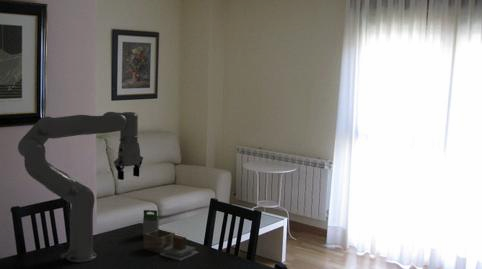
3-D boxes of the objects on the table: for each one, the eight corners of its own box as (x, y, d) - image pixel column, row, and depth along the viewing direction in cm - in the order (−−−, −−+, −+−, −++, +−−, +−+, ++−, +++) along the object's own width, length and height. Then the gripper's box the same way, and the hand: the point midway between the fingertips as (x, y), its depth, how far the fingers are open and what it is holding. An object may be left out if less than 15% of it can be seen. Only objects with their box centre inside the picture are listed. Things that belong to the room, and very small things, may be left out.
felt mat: (180, 260, 240) (180, 259, 240) (159, 254, 246) (159, 253, 246) (198, 252, 251) (198, 251, 251) (178, 247, 257) (178, 246, 257)
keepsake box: (160, 253, 248) (160, 238, 247) (143, 249, 254) (143, 234, 253) (174, 247, 256) (174, 233, 256) (158, 243, 262) (158, 229, 261)
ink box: (158, 234, 275) (159, 208, 274) (156, 237, 271) (157, 210, 270) (145, 234, 276) (145, 207, 274) (142, 236, 272) (143, 209, 270)
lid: (180, 258, 241) (181, 242, 241) (163, 253, 247) (163, 237, 246) (195, 252, 250) (195, 236, 249) (177, 247, 255) (178, 232, 255)
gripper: (120, 142, 237) (120, 182, 239) (148, 139, 251) (148, 176, 253) (108, 141, 241) (108, 179, 243) (136, 137, 255) (135, 173, 257)
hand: (128, 177), depth 248 cm, fingers open, 9 cm apart
